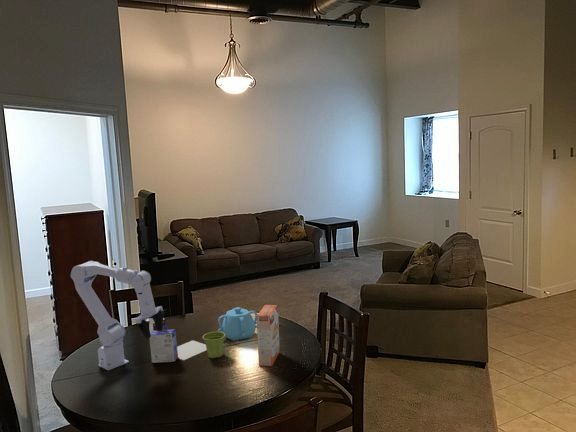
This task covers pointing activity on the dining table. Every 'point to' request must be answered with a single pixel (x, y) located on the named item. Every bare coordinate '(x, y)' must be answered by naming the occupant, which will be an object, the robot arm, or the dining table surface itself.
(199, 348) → the mat
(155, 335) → the ink cartridge box
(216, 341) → the plant pot
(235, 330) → the light blue teapot
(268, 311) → the cracker box
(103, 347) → the robot arm
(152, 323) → the medicine bottle
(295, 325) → the dining table surface
